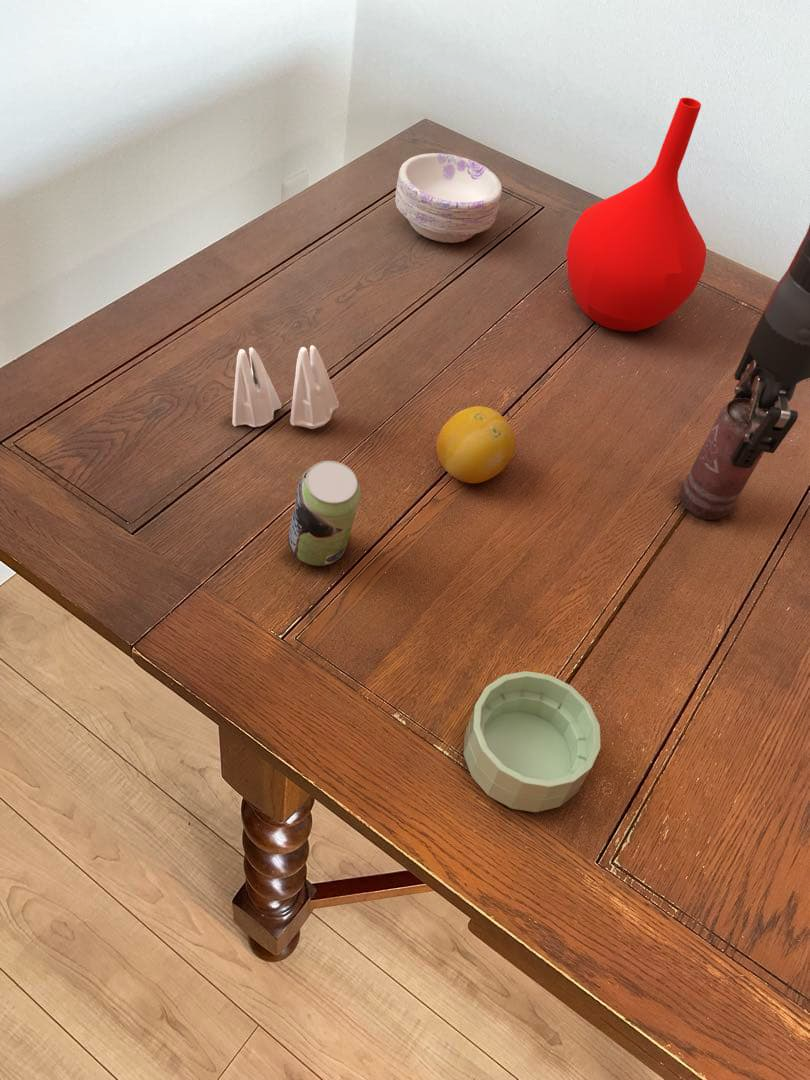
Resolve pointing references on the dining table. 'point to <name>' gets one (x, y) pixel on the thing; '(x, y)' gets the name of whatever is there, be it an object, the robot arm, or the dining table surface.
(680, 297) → the vase
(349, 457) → the dining table surface
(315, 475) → the beverage can
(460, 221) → the paper bowls
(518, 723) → the sage bowl
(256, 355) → the shaker set
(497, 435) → the fruit
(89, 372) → the dining table surface
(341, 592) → the dining table surface
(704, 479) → the can
